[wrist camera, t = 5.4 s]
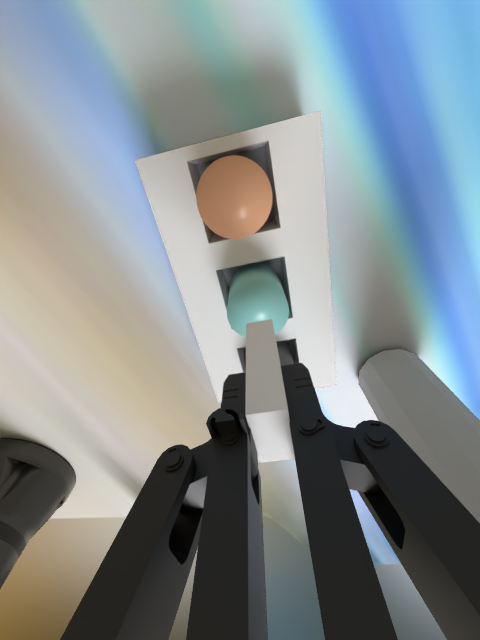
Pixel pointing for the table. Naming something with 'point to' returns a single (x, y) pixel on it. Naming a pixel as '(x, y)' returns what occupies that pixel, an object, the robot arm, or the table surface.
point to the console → (251, 243)
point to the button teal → (256, 298)
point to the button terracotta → (234, 197)
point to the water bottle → (427, 420)
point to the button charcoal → (284, 353)
